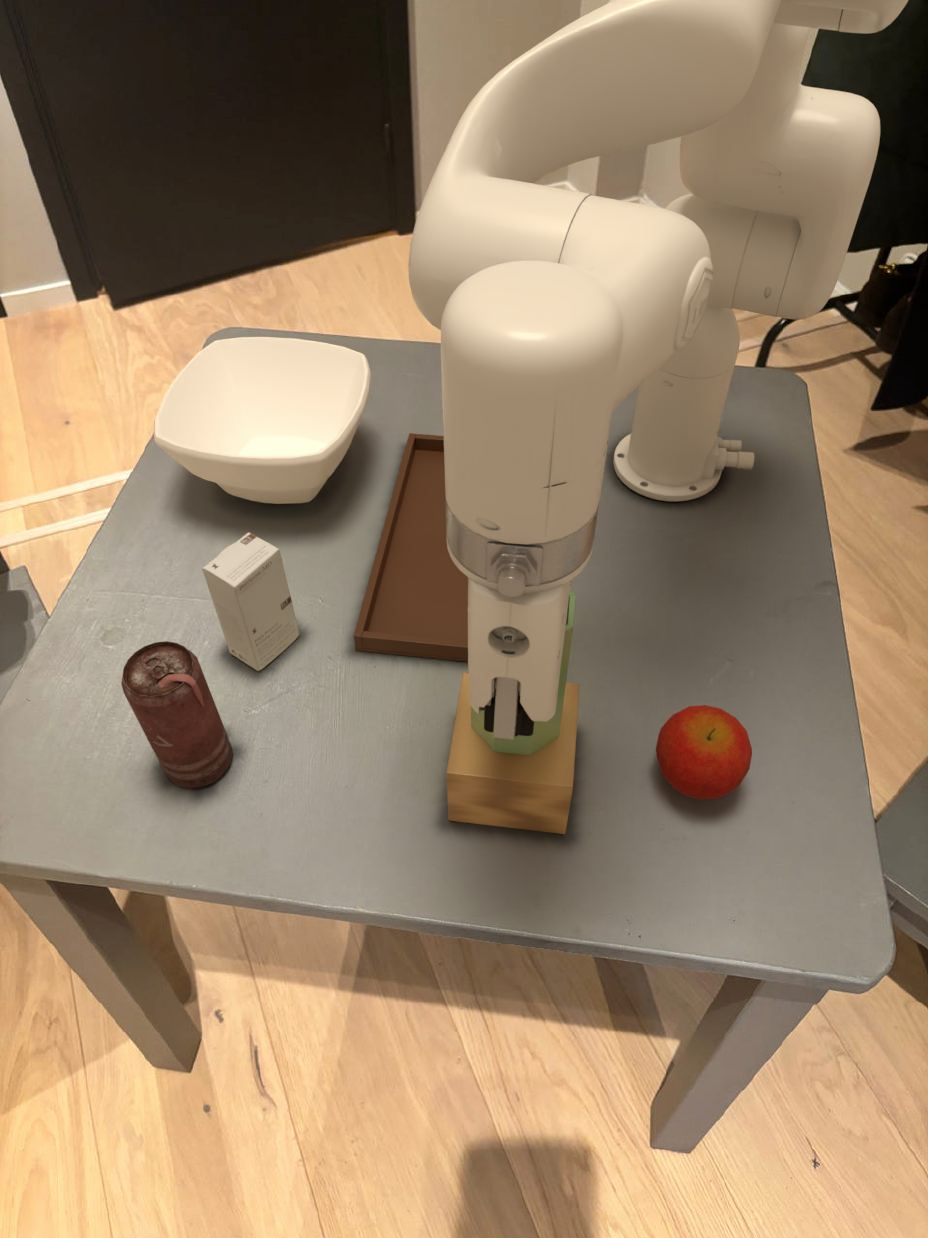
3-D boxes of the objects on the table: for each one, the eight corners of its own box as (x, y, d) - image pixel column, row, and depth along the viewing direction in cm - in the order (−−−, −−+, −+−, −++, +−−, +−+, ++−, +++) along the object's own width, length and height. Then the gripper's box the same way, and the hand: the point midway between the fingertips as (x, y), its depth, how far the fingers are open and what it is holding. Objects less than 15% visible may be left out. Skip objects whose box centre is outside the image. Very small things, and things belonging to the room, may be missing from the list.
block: (571, 735, 82) (579, 683, 76) (565, 834, 76) (573, 787, 70) (464, 723, 83) (463, 672, 77) (448, 820, 77) (446, 772, 71)
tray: (554, 459, 108) (556, 444, 106) (532, 668, 87) (533, 654, 86) (410, 448, 109) (409, 432, 107) (355, 650, 89) (353, 636, 87)
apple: (702, 727, 83) (720, 676, 77) (757, 794, 78) (781, 746, 72) (632, 760, 81) (645, 711, 75) (685, 831, 76) (703, 785, 70)
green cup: (562, 686, 76) (577, 573, 65) (557, 758, 71) (571, 650, 61) (478, 677, 77) (479, 564, 66) (467, 749, 72) (466, 639, 61)
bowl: (394, 426, 112) (387, 344, 103) (348, 552, 98) (336, 469, 89) (225, 409, 114) (204, 328, 106) (157, 529, 100) (126, 446, 92)
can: (221, 796, 79) (181, 705, 68) (154, 784, 79) (104, 692, 69) (246, 738, 82) (212, 643, 72) (181, 727, 83) (138, 632, 73)
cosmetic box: (260, 674, 87) (234, 590, 78) (227, 653, 89) (198, 568, 80) (302, 633, 90) (283, 549, 81) (270, 614, 92) (247, 529, 83)
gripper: (589, 641, 40) (559, 834, 54) (601, 432, 49) (572, 642, 63) (422, 625, 40) (435, 819, 54) (466, 422, 50) (467, 631, 64)
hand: (509, 723), depth 59 cm, fingers closed
